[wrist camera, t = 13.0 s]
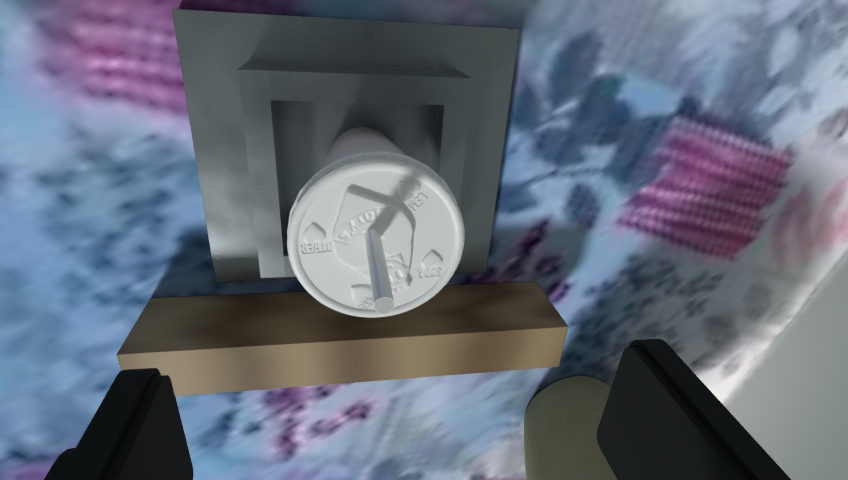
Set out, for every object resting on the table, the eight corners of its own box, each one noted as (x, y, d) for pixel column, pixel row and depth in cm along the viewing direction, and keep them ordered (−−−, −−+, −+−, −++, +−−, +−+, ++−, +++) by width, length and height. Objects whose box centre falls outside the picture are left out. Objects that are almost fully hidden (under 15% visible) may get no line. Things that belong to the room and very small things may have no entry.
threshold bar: (536, 281, 32) (568, 326, 28) (528, 317, 33) (558, 366, 29) (150, 298, 28) (116, 354, 23) (160, 338, 29) (129, 399, 25)
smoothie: (392, 78, 24) (459, 170, 11) (440, 187, 27) (532, 351, 14) (276, 133, 24) (219, 281, 12) (337, 235, 27) (342, 436, 15)
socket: (512, 28, 24) (543, 33, 21) (481, 264, 31) (501, 298, 27) (178, 8, 22) (148, 10, 18) (219, 273, 28) (203, 313, 24)
